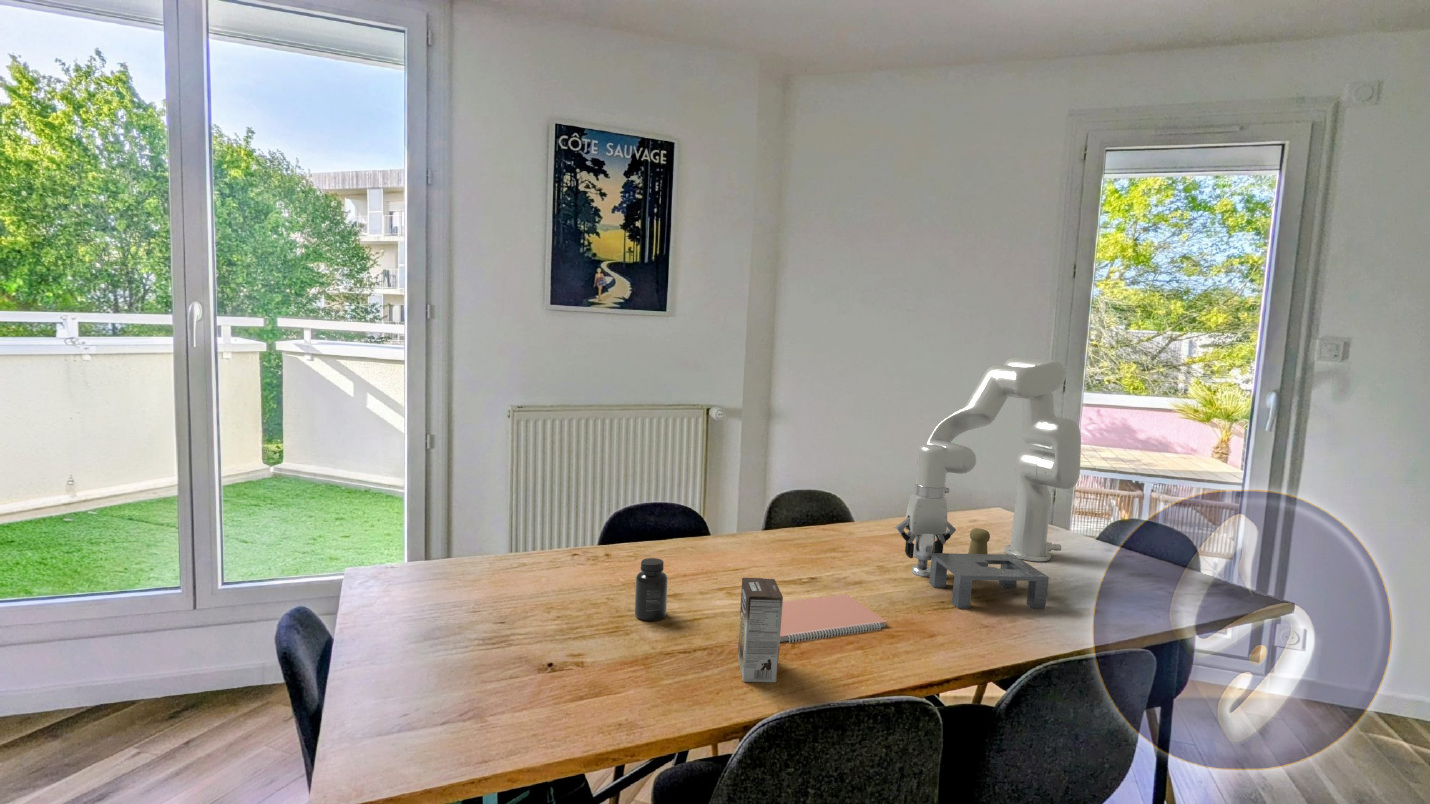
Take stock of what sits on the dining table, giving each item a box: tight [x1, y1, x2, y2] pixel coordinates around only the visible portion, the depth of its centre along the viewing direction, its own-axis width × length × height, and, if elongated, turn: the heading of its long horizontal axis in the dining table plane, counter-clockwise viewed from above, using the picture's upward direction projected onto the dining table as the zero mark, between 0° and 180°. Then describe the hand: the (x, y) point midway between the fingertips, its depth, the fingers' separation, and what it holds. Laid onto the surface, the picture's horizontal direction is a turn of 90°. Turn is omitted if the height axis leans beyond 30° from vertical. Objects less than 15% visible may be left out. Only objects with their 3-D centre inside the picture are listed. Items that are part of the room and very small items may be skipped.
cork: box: [967, 527, 991, 567], centre depth 194 cm, size 6×6×11 cm
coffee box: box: [737, 577, 784, 683], centre depth 129 cm, size 9×6×16 cm
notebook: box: [780, 594, 888, 644], centre depth 153 cm, size 27×17×2 cm, turn 113°
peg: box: [911, 534, 936, 578], centre depth 187 cm, size 5×5×12 cm
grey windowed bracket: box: [928, 552, 1050, 610], centre depth 173 cm, size 22×16×8 cm
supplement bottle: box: [634, 557, 668, 622], centre depth 150 cm, size 7×7×12 cm
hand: (923, 556), depth 187 cm, fingers open, 7 cm apart
